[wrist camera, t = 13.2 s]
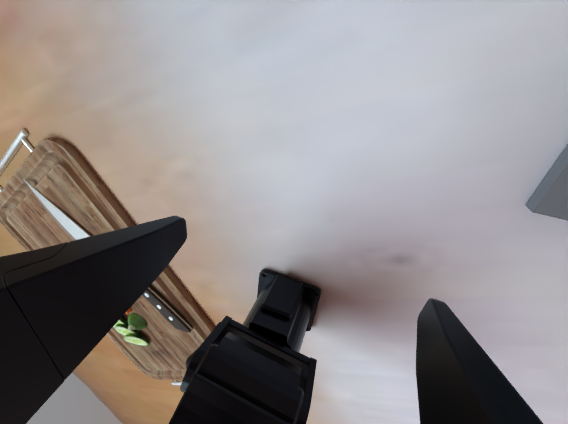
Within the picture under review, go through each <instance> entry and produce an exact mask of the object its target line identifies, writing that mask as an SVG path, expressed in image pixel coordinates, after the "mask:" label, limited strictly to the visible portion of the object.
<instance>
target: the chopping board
mask: <svg viewBox="0 0 568 424" xmlns="http://www.w3.org/2000/svg"><path fill="white" fill-rule="evenodd" d="M28 135H29V133H28V132H27V131H26V130H25V129H21V130H20V131H19V133H18V134H17V136H16V138H15V139H14V141H13V142H12V144H11V145H10V147H9V148H8V150H7V151H6V153H5V154H4V156H3V157H2V159H1V160H0V175H1V174H2V172H3V171H4V169H5V168H6V166H7V165H8V164H9V162H10V161H11V159H12V158H13V157H14V155H15V154H16V152H17V151H18V149H19V148H20V147H21V145H22V144H23V143H24V144H25V145H26V146H27V148H28V149H29V150H30V151H31V154H30V155H29V156H28V157H27V159H26V160H25V161H24V163H23V164H22V165H21V167H20V168H19V169H18V170H17V172H16V173H15V174H14V176H13V177H12V178H11V179H10V181H9V182H8V183H7V185H6V186H5V187H4V188H2V187H1V186H0V223H1V224H2V225H3V227H4V228H5V229H6V230H7V231H8V232H9V233H10V234H11V235H12V236H13V237H14V238H15V239H16V240H17V241H18V242H19V244H20V245H21V246H22V247H23V248H24V249H25V250H26V251H32V250H36V249H40V248H45V247H49V246H53V245H57V244H61V243H65V242H70V241H74V240H78V239H82V238H86V237H90V236H94V235H98V234H102V233H106V232H110V231H114V230H118V229H122V228H126V227H130V226H135V225H134V223H133V222H132V221H131V220H130V218H129V217H128V216H127V214H126V213H125V212H124V211H123V209H122V208H121V207H120V205H119V204H118V203H117V202H116V200H115V199H114V198H113V197H112V195H111V194H110V193H109V191H108V190H107V189H106V188H105V186H104V185H103V184H102V182H101V181H100V180H99V179H98V177H97V176H96V175H95V173H94V172H93V171H92V170H91V168H90V167H89V166H88V164H87V163H86V162H85V161H84V159H83V158H82V157H81V156H80V154H79V153H78V152H77V151H76V150H75V149H74V148H73V147H72V146H71V145H69V144H68V143H66V142H65V141H63V140H61V139H57V138H48V139H44V140H43V141H41V142H39V143H38V145H37V146H36V147H35V148H33V146H32V145H31V144H30V143H29V141H28V140H27V139H26V138H27V137H28ZM214 328H215V327H214V326H213V325H212V323H211V322H210V321H209V319H208V318H207V317H206V316H205V314H204V313H203V312H202V311H201V309H200V308H199V307H198V305H197V304H196V303H195V302H194V300H193V299H192V298H191V296H190V295H189V294H188V293H187V291H186V290H185V289H184V287H183V286H182V285H181V284H180V282H179V281H178V280H177V278H176V277H175V276H174V275H173V273H172V272H171V271H170V270H169V268H168V267H166V268H165V269H164V271H163V272H162V273H161V274H160V275H159V276H158V278H157V279H156V280H155V281H154V282H153V283H152V284H151V285H150V286H149V287H148V289H147V290H146V291H145V292H144V293H143V294H142V295H141V296H140V297H139V299H138V300H137V301H136V302H135V303H134V304H133V305H132V306H131V307H130V309H129V310H128V311H127V312H126V313H125V314H124V315H123V316H122V317H121V318H120V320H119V321H118V322H117V323H116V324H115V325H114V326H113V327H112V328H111V330H110V331H109V332H108V333H107V334H106V335H107V336H108V337H109V338H110V339H111V340H112V341H113V342H114V343H115V344H116V345H117V346H118V347H119V349H120V350H121V351H122V352H123V353H124V354H125V355H126V356H127V357H128V358H129V359H130V360H131V361H132V362H133V363H134V364H135V365H136V366H137V367H138V368H139V369H140V370H141V371H142V372H143V373H145V374H146V375H148V376H149V377H151V378H154V379H158V380H173V381H172V385H176V386H181V384H182V381H177V380H183V378H184V376H185V372H186V365H185V363H186V360H187V359H188V357H189V356H190V355H191V354H192V353H193V352H194V351H195V350H196V349H198V348H199V346H200V345H201V344H202V343H203V342H204V340H205V339H206V338H207V337H208V336H209V334H210V333H211V332H212V331H213V329H214Z"/></svg>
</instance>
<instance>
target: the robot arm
mask: <svg viewBox="0 0 568 424" xmlns="http://www.w3.org/2000/svg"><path fill="white" fill-rule="evenodd" d="M186 238H187V229H186V221H185V219H184V218H181V217H178V216H171V217H167V218H163V219H159V220H155V221H151V222H147V223H143V224H139V225H135V226H130V227H126V228H122V229H118V230H114V231H110V232H106V233H102V234H98V235H94V236H90V237H86V238H82V239H78V240H74V241H70V242H65V243H61V244H57V245H53V246H49V247H45V248H40V249H36V250H32V251H27V252H22V253H17V254H12V255H7V256H2V257H0V424H26V423H27V422H28V421H29V420H30V418H31V417H32V416H33V415H34V414H35V413H36V412H37V411H38V410H39V408H40V407H41V406H42V405H43V404H44V403H45V402H46V401H47V400H48V398H49V397H50V396H51V395H52V394H53V393H54V392H55V391H56V390H57V388H58V387H59V386H60V385H61V384H62V383H63V382H64V379H66V378H67V377H68V376H69V375H70V374H71V373H72V372H73V371H74V369H75V368H76V367H77V366H78V365H79V364H80V363H81V362H82V361H83V359H84V358H85V357H86V356H87V355H88V354H89V353H90V352H91V351H92V349H93V348H94V347H95V346H96V345H97V344H98V343H99V342H100V341H101V340H102V338H103V337H104V336H105V335H106V334H107V333H108V332H109V331H110V330H111V328H112V327H113V326H114V325H115V324H116V323H117V322H118V321H119V320H120V318H121V317H122V316H123V315H124V314H125V313H126V312H127V311H128V310H129V309H130V307H131V306H132V305H133V304H134V303H135V302H136V301H137V300H138V299H139V297H140V296H141V295H142V294H143V293H144V292H145V291H146V290H147V289H148V287H149V286H150V285H151V284H152V283H153V282H154V281H155V280H156V279H157V278H158V276H159V275H160V274H161V273H162V272H163V271H164V269H165V268H166V267H167V265H168V264H169V263H170V261H171V260H172V259H173V257H174V256H175V254H176V253H177V252H178V250H179V249H180V248H181V246H182V245H183V244H184V242H185V241H186ZM316 292H317V293H316ZM320 295H321V290H320V289H319V288H318V287H315V286H312V285H309V284H306V283H303V282H300V281H298V280H295V279H292V278H289V277H286V276H283V275H280V274H277V273H274V272H271V271H269V270H265V269H263V270H261V272H260V274H259V285H258V295H257V300H256V302H255V303H254V305H253V307H252V309H251V311H250V312H249V314H248V316H247V318H246V320H245V321H244V323H243V325H242V324H240V323H238V322H236V321H234V320H232V318H231V317H229V316H226V317H225V318H224V319H223V320H222V322H219V323H218V325H217V326H216V327H215V328H214V329H213V331H212V332H211V333H210V334H209V336H208V337H207V338H206V339H205V340H204V342H203V343H202V344H201V345H200V346H199V348H198V349H196V350H195V351H194V352H193V353H192V354H191V355H190V356H189V357H188V359H187V360H186V363H185V365H186V372H185V376H184V378H183V381H182V384H181V388H180V390H181V391H182V392H184V394H183V396H182V398H181V400H180V402H179V404H178V406H177V408H176V410H175V412H174V414H173V416H172V418H171V420H170V422H169V424H306V421H307V418H308V414H309V409H310V404H311V398H312V391H313V383H314V376H315V369H316V362H317V360H316V359H313V358H309V357H307V356H305V355H303V354H301V353H299V351H300V348H301V345H302V342H303V338H304V335H305V332H306V331H310V330H311V326H312V323H313V319H314V316H315V312H316V309H317V305H318V302H319V298H320ZM416 377H417V389H418V401H419V413H420V424H543V423H542V421H541V420H540V419H539V418H538V416H537V415H536V414H535V413H534V412H533V410H532V409H531V408H530V407H529V405H528V404H527V403H526V402H525V400H524V399H523V398H522V397H521V396H520V394H519V393H518V392H517V391H516V389H515V388H514V387H513V386H512V384H511V383H510V382H509V381H508V380H507V378H506V377H505V376H504V375H503V373H502V372H501V371H500V370H499V368H498V367H497V366H496V365H495V364H494V362H493V361H492V360H491V359H490V357H489V356H488V355H487V354H486V353H485V351H484V350H483V349H482V348H481V346H480V345H479V344H478V343H477V341H476V340H475V339H474V338H473V337H472V335H471V334H470V333H469V332H468V330H467V329H466V328H465V327H464V325H463V324H462V323H461V322H460V321H459V319H458V318H457V317H456V316H455V314H454V313H453V312H452V311H451V309H450V308H449V307H448V306H447V305H446V304H445V303H444V302H442V301H439V300H436V299H429V300H428V301H427V303H426V304H425V306H424V308H423V309H422V311H421V312H420V314H419V316H418V321H417V348H416Z"/></svg>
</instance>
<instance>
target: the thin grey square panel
mask: <svg viewBox="0 0 568 424" xmlns="http://www.w3.org/2000/svg"><path fill="white" fill-rule="evenodd" d="M525 205H526V206H527V207H528V208H529V209H530V210H531V211H532V212H534V213H538V214H543V215H547V216H551V217H556V218H560V219H564V220H568V145H567V146H566V148H565V149H564V150H563V152H562V153H561V155H560V156H559V158H558V159H557V160H556V162H555V163H554V165H553V166H552V167H551V169H550V170H549V172H548V173H547V175H546V176H545V177H544V179H543V180H542V182H541V183H540V185H539V186H538V187H537V189H536V190H535V192H534V193H533V195H532V196H531V197H530V199H529V200H528V202H527V203H526V204H525Z"/></svg>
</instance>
